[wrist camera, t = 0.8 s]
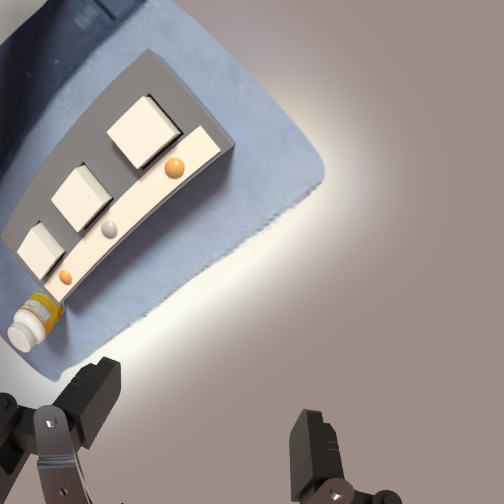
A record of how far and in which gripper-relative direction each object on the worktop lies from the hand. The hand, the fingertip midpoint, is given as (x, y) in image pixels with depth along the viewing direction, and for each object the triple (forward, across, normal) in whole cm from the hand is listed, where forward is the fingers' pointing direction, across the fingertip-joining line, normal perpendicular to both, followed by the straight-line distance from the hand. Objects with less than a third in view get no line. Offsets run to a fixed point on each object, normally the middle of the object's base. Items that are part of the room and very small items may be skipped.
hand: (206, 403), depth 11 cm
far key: (+18, +22, +3) cm, 29 cm away
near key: (+17, +11, -11) cm, 23 cm away
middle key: (+17, +17, -4) cm, 24 cm away
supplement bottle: (+23, +26, +14) cm, 38 cm away
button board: (+21, +17, -4) cm, 27 cm away
